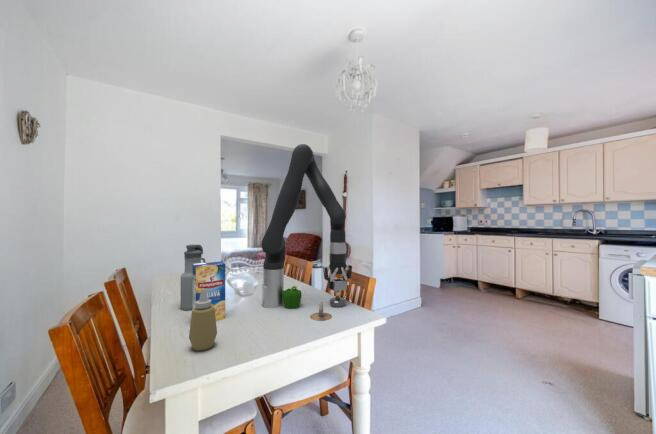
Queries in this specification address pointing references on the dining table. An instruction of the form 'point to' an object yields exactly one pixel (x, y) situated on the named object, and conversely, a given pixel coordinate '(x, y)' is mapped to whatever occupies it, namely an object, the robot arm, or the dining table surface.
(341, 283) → the grey small box
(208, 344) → the squeeze bottle
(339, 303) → the hub
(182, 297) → the water bottle
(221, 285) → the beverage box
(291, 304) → the bell pepper
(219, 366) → the dining table surface
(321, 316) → the stand
